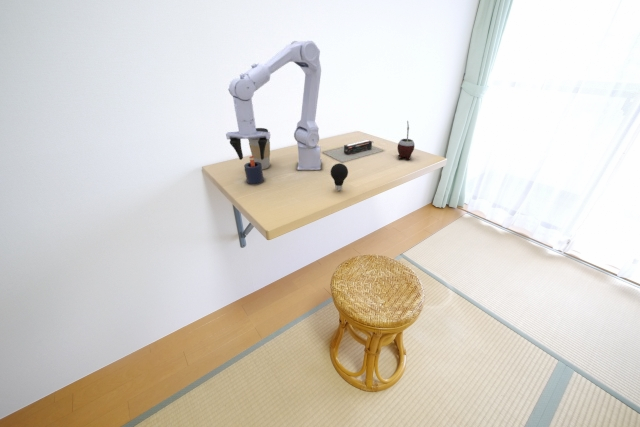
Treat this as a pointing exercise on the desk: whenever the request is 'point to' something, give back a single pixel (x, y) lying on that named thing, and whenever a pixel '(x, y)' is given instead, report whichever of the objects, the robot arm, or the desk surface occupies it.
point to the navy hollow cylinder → (254, 173)
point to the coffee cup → (256, 150)
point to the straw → (252, 161)
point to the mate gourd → (405, 147)
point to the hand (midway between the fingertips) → (252, 158)
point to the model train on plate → (353, 151)
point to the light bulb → (339, 175)
